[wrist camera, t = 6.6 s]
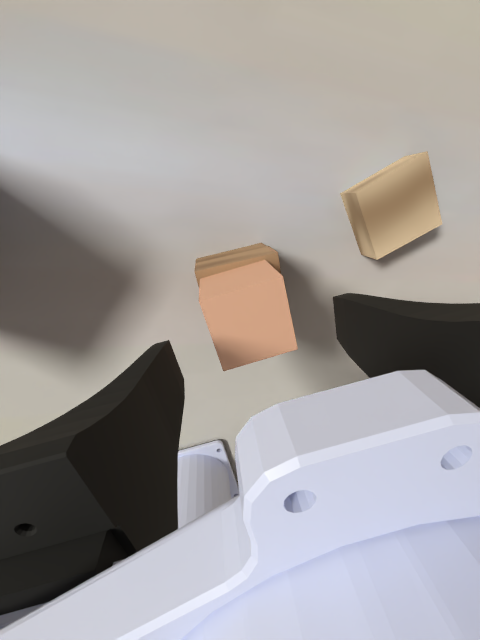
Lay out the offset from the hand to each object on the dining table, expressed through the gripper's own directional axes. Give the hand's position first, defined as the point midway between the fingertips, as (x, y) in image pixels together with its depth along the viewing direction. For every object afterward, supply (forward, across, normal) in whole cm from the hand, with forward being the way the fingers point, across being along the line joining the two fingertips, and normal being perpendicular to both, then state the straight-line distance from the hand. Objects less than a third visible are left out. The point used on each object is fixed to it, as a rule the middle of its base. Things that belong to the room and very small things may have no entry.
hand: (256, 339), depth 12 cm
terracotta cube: (+6, 0, 0) cm, 6 cm away
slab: (+11, -12, -2) cm, 16 cm away
